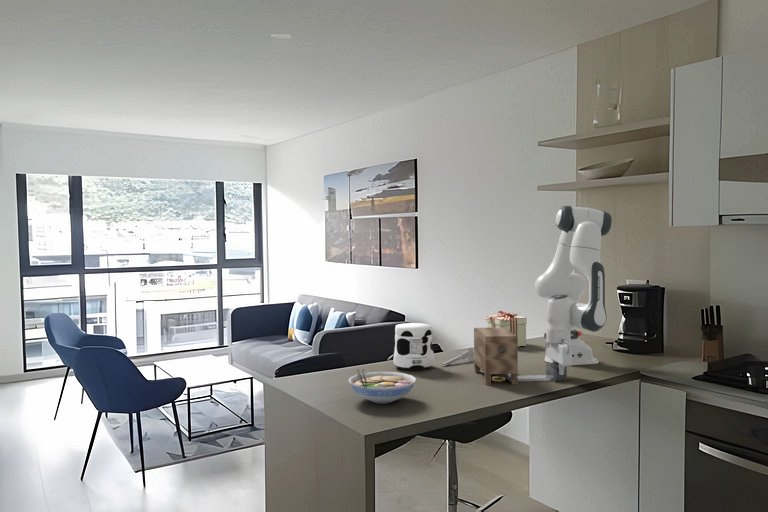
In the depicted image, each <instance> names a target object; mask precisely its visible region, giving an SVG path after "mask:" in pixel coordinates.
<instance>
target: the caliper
mask: <svg viewBox="0 0 768 512" xmlns="http://www.w3.org/2000/svg"><path fill="white" fill-rule="evenodd" d="M472 348H473V347H468V348H467V349H468V350H466V351H463V352H462V353H460V354H459V355H458V356H454V357H453V358H451V359H449V360H448V361H444V362H443V363H442V364H441V365H446V364H450V365H452V364H454V363H456V362H459V361H460V360H465V359H467V360H468V359H469V360H471V359H474V348H473V349H472ZM469 360H468V361H469ZM471 361H472V360H471ZM451 363H452V364H451Z"/></svg>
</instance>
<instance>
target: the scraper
mask: <svg viewBox="0 0 768 512" xmlns="http://www.w3.org/2000/svg"><path fill="white" fill-rule="evenodd" d="M567 367H568V366H565V369H564V374H563V375H560V374H558V369H559V363H545V375H544V374H540V375H539V374H538V375H536V374H535V375H534V374H533V375H532V374H530V375H529V374H528V375H518V382H547V381H548V382H553V383H557V381H567V380H568V379H567V373H568V371H567V370H568V369H567ZM505 375H506V377H505V379H507V380H508V381H509V382H510V383H511V374H505Z"/></svg>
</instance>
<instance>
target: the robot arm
mask: <svg viewBox="0 0 768 512" xmlns="http://www.w3.org/2000/svg"><path fill="white" fill-rule="evenodd" d="M612 224H613V217H612V215H611V214H610V212H608V211H605V210H599V209H596V208H591V207H583V206H572V205H563V206H561V207H560V208H559V209H558V211H557V213H556V214H555V226H556V227H557V229H559V230H560V231H561V233H560V235H559V240H558V243H557V247H556V251H555V254H554V257H553V259H552V261H551V262H550V264H549V266H548V267H547V269H546V270H545V271H544V272H543V273H542V274H541V275H539V276H538V277H537V278H536V280H535V284H534V287H535V291H536V292H535V293H536V294H537V295H538V296H539V297H542V298H546V299H548V300H547V304H546V320H547V325H546V331H545V332H544V333H543V339H544V350H545V356H544V361H545V362H547V363H548V364H551V363H559V369H558V374H560V375H563V374H564V369H565V366H567V367H572V366H581V365H584V366H585V365H596V364H597V365H598V364H599V359H597V358H596V357H594V355H593V350H592V348H591V347H590V346H589V345H588V344H586V343H585V342H584V341H583V340H582V339H580V338H579V337H582V336H583V332H582V331H580V330H577V329H583V330H586V331H589V332H593V333H595V332H598V331H600V330H601V329H602V328H603V327H604V326H605V325H606V323H607V311H606V275H605V267H604V266H603V264H602V263H601V257H600V256H601V246H602V237H604V236H606V235H608V234H609V232H610V231H611V229H612V226H613V225H612ZM574 270H576V271H578V272H579V273H577V272H573V271H574ZM580 273H581V274H580ZM585 277H586V278H587V279H586V278H585ZM587 281H588V282H587ZM587 283H588V284H587ZM587 288H588V302H587V303H582V302H579V300H580V298H581V297H582V296H583V295H584V294H585V292H586V290H587ZM575 328H577V329H575Z"/></svg>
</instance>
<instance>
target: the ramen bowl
mask: <svg viewBox="0 0 768 512" xmlns="http://www.w3.org/2000/svg"><path fill="white" fill-rule="evenodd" d="M356 372H357V374H355V375H353V376H351V377H349V379H347V381H348V383H349V385H350V386H351V388H352V390H353V391H354V392H355V393H356V394H357V396H359V397H360V398H362V399H365V400H367V401H370V402H371V403H374V404H377V405H378V404H379V405H381V404H383V405H385V404H391V403H393V402H394V401H397V400H401V399H402V398H404V397H406V396H407V395H408V394H409V393H410V392H411V390H412V389H413V388H414V385H415V383H416V381H417V378H416V377H415V376H413V375H412V374H411V375H410V374H407V373H403V372H397V371H396V372H395V371H394V372H393V371H372V372H365V369H364V368H363V369H361V371H360V369H359V368H358V369H356ZM361 372H362V373H361Z"/></svg>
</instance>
